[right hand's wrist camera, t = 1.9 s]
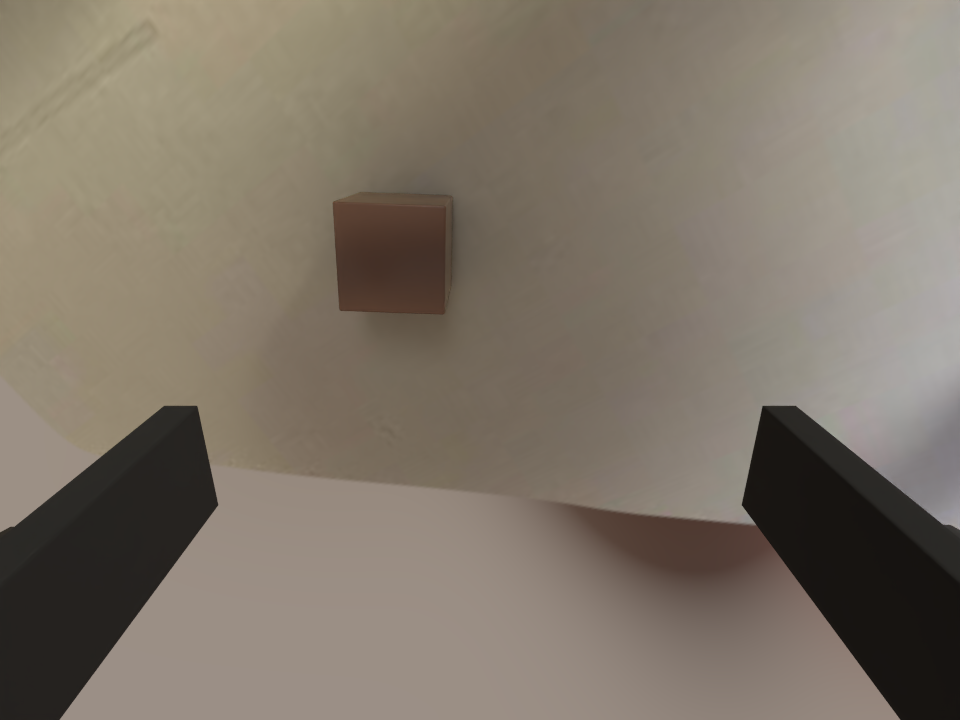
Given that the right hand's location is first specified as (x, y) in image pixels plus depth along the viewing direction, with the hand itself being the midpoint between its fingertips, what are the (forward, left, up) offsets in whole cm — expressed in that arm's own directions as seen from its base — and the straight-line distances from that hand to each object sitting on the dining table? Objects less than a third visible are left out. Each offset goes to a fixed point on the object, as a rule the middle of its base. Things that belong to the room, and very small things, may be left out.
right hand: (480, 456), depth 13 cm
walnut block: (-2, -4, -16) cm, 17 cm away
